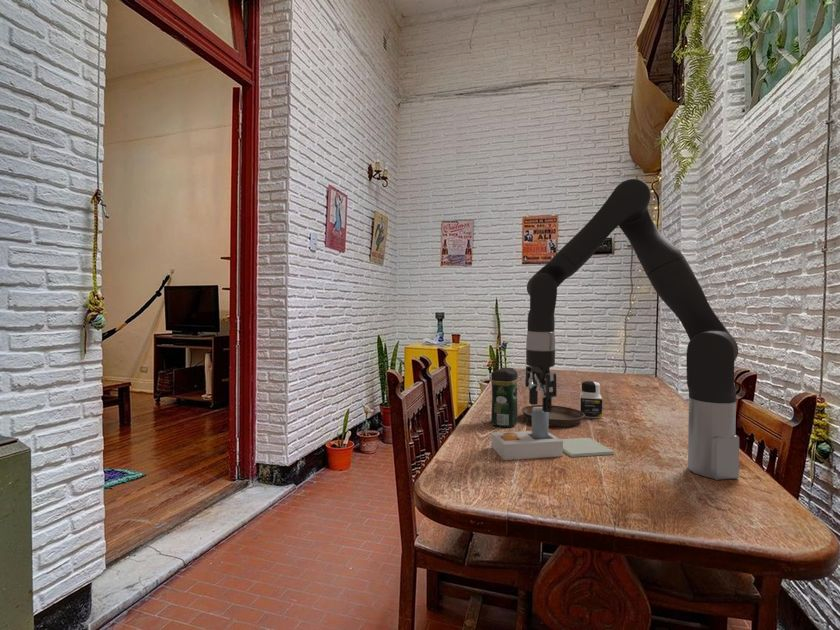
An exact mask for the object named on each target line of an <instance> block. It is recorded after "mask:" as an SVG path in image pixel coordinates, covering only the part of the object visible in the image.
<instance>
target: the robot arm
mask: <svg viewBox="0 0 840 630" xmlns="http://www.w3.org/2000/svg"><path fill="white" fill-rule="evenodd" d="M651 195H652V193H651V189H650V186H649V184H647V183H646V182H645V180H642V179H639V178H630V179H625V180H624V181H622V182H621V183H619V184H617V186H616V187H615V188H614V189H613V191H612V193H611V194H610V195H609V197H608V198H607V199H606V201H605V202H604V203H603V205H602V206H601V207H600V208H599V210H597V212H596V213H595V214H594V215H593V216H592V218H591V219H590V220H589V221H588V222H587V223H586V224H585V225H584V226H583V227H582V228H581V229H580V230H579V231H578V232H577V233H576V234H575V235H574V236H573V237H572V238H571V239H570V240H569V241H568V242H567V243H566V244H565V245H564V246H563V247H562V248H560V250H558V251H557V253H555V254H554V256H553V257H552V259H550V261H548V262H547V263H546V264H545V265H544V266H543V267H541V268H540V269H539V270H538V271H536V273H535V274H533V276H532V277H530V279H529V280H528V281H527V283H526V291H527V294H528V295H529V311H528V313H527V333H526V339H525V340H526V341H525V342H526V343H525V344H526V346H525V347H526V349H525V364H526V365H527V366H525V380H524V381H525V387H526V388H527V390H528V403H529V405H530V406H532V405H538V404H539V403H538V402H539V401H538V400H539V399H538V396H539V395H538V393H539V392H538V390H539V391H541V392H540V393H541V394H542V395H541V396H542V398H541V399H542V404H541V405H542V411H544V412H551V405H552V403H553V402H552V401H553V399H552V398H554V397H557V373H555V372H554V373H551V371H550V368H551V367H555V365H556V335H555V327H556V326H555V325H556V324H555V321H556V319H555V318H556V317H555V310H556V304H557V297H558V296H557V295H558V287H559V286H560V285H562V283H563V282H564V281H566V280H567V279H568V278H571V277H572V276H573V275H575V273H577V271H579V269H580V268H582V266H584V265H585V264H586V263H587V262H588V261H589V259H591V258H592V256H594V254H595V253H596V252H597V251H598V249H599V248H600V247H601V246H602V244H603V243H604V242H605V240H606V239H607V238H608V237H609V236H610V235H611V234H612V232H613V231H614V230H615V229H616V228H618V227H619V228H620V229H621V231H622V233H623V234H624V235H625V237H626V238H627V239H628V241H629V243H630V245H631V247H632V248H633V251H634V253H635V255H636V258H637V259H638V262H639V263H640V265H641V267H642V269H643V270H644V272H645V275H646V276H647V278H648V280H649V282H650V284H651V286H652V288H653V289H654V290H655V293H656V294H657V295H658V297H660V299H661V300H662V302H664V304H665V305H666V306H667V307H668V308H669V309H670V310H671V311H672V312H673V314H674V315H675V316H676V317H677V319H678V320H679V322H680V323H681V324H682V327H683V328H684V331H685V332H686V334H687V337H688V339H689V342H688V344H687V347H686V355H685V356H686V361H685V363H686V385H687V388H688V414H687V415H688V418H687V419H688V423H687V424H688V425H687V426H688V427H687V428H688V429H687V431H688V432H687V469H688V470H689V471H690V472H692V473H694V474H696V475H698V476H703V477H705V478H709V479H713V480H716V481H718V480H731V479H739V477H740V474H739V473H740V436H738V435H737V434H736V421H737V420H736V415H737V414H736V412H737V402H736V401H737V390H736V385H735V361H736V360H737V358H738V355H739V347H738V344H737V341H736V339H735V338H734V337H733V336H732V334H731V333H730V332H729V330H728V329H727V328H726V327H725V325H724V324H723V322H722V321H721V320H720V318H718V316H717V315H716V313H715V311H714V310H713V309H712V306H711V305H710V303H709V301H708V299H707V297H706V295H705V293H704V290H703V288H702V287H701V285H700V282H699V281H698V279H697V277H696V275H695V273H694V271H693V269H692V267H691V266H690V264H689V261H687V259H686V258H685V256H684V254H683V253H682V251H681V250H680V249H679V248H678V246H676V245H675V244H674V243H672V241H670V240H669V239H668V238H667V237H666V236H665V235H664V234H663V233H662V232H660V230H659V229H658V227H657V226H656V224H655V222H654V220H653V218H652V215H651V213H650V211H649V209H648V208H649V205H650V201H651Z"/></svg>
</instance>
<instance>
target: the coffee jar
mask: <svg viewBox="0 0 840 630" xmlns="http://www.w3.org/2000/svg"><path fill="white" fill-rule="evenodd" d="M490 376H491V377H490V379H491V380H490V381H491V424H492V425H493V426H495V427H498V426H499V427H500V428H507V427H509V428H512V427H513V426H515V425H516V424H517V423H518V421H519V420H518V419H519V418H518V417H519V415H518V411H519V410H518V371H517V370H515V368H514V367H503V366H502V367H501V368H500V369H496V370H494V371H492V372H491V375H490Z"/></svg>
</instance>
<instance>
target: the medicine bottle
mask: <svg viewBox="0 0 840 630" xmlns="http://www.w3.org/2000/svg"><path fill="white" fill-rule="evenodd" d="M578 396H579V401H578V402H579V411H581V412H583V413H584V414H585V416H584V417H583V418H588V419H590V418H591V419H603V400H604V399H603V397H602V395H601V383H599V382H597V381H592V380H589V381H588V380H586V381H583V382H581V392H580V393H579V395H578Z"/></svg>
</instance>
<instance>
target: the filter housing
mask: <svg viewBox="0 0 840 630" xmlns="http://www.w3.org/2000/svg"><path fill="white" fill-rule="evenodd" d="M504 433H515V434H517V440H511V441H505V440H504V439H503V434H504ZM490 436H491V437H490V441H491V445H490V447H492V448H493V449H494V450H495V451H496V452H497V453H498V454H497V453H496V452H495V451H494V450H493V449H492V448H491V449H492V450H493V451H494V452H495V453H496V454H497V455H498V456H500V458H501V459H502V460H503V461H512V460H526V459H527V460H528V459H539V458H540V459H543V458H559V457H564V451H563V441H562V440H560V438H559V437H558V436H555V435H554V434H552V433H551V432H549V439H539V440H535V439H533V438H532V430H526V431H525V430H523V431H505V432H504V431H503V432H491V434H490Z"/></svg>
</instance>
